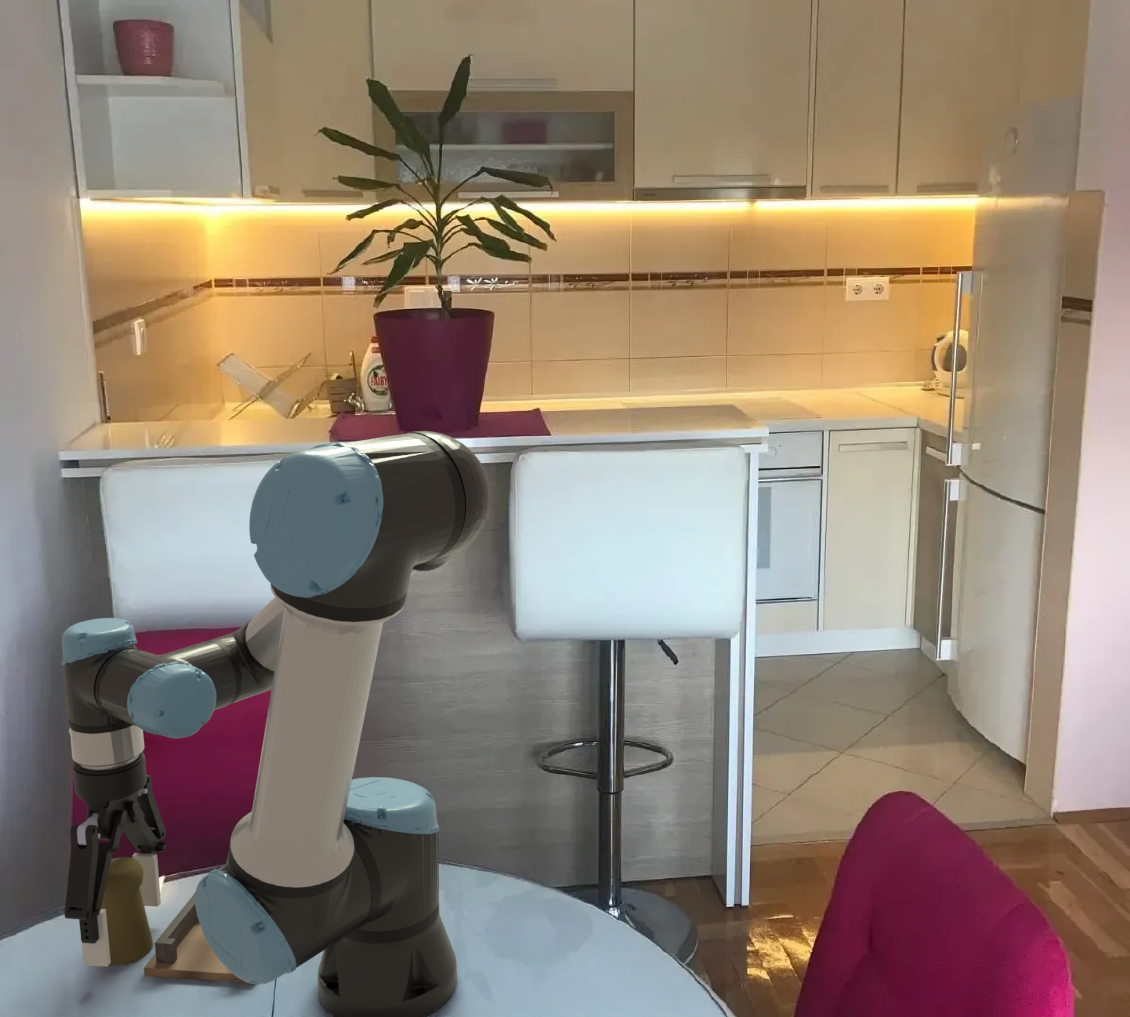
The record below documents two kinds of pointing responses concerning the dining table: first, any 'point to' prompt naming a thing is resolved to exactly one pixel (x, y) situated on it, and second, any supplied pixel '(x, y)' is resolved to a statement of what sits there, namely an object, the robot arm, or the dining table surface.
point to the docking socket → (186, 951)
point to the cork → (126, 912)
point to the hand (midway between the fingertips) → (124, 932)
